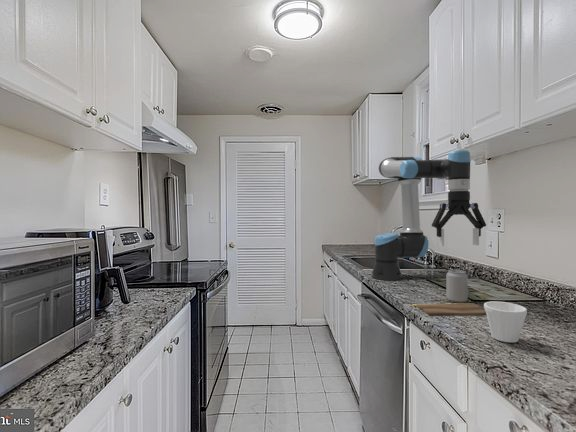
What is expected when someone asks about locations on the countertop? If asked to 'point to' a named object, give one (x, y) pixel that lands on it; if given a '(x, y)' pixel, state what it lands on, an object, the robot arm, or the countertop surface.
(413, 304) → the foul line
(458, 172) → the robot arm
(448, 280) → the can
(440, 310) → the board
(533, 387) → the countertop surface
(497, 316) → the cup
